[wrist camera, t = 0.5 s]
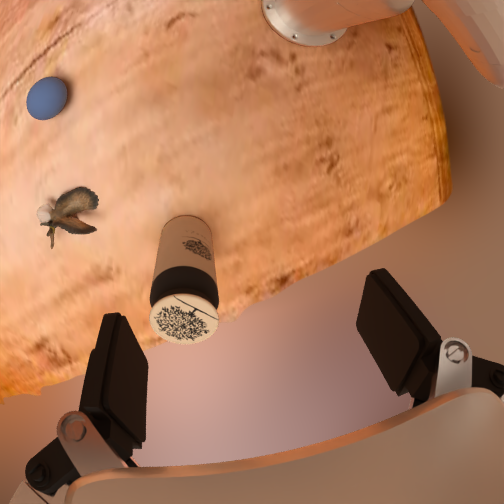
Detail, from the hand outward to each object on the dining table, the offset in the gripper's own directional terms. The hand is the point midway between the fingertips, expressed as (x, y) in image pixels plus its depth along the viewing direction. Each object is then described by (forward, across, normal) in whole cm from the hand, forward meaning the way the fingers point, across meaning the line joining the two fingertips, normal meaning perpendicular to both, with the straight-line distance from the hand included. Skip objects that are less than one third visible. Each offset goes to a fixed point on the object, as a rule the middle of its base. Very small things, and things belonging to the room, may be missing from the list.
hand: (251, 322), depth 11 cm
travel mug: (+33, +6, +14) cm, 36 cm away
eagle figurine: (+33, +22, +5) cm, 40 cm away
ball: (+29, +21, -12) cm, 38 cm away
